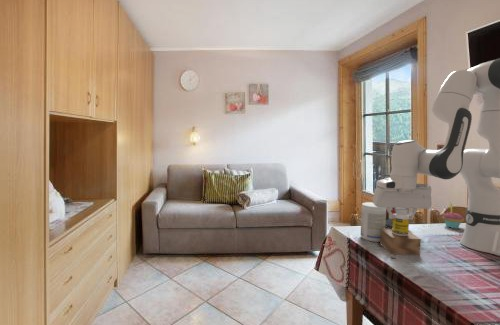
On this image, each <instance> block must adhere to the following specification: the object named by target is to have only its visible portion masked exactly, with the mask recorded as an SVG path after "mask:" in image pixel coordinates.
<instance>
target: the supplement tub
mask: <svg viewBox="0 0 500 325" xmlns="http://www.w3.org/2000/svg"><path fill="white" fill-rule="evenodd" d="M360 208H361V210H360V214H361V215H360V237H361V239H363V240H365V241H369V242H373V243H378V242H381V229H386V227H385V226H386V207H377V206H375V205H374V204H373V201H371V202H370V201H368V202H367V201H366V202H362V203H361V207H360Z"/></svg>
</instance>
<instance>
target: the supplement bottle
mask: <svg viewBox="0 0 500 325" xmlns="http://www.w3.org/2000/svg"><path fill="white" fill-rule="evenodd" d="M407 213H408V210H407V209H405V208H396V213H395V214H394V215H395V219H393V225H392V228H391V230H392V233H393V234H395V235H399V236H407V235H408V231H409V227H410V225H409V224H410V220H409V216H408V215H407Z"/></svg>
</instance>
